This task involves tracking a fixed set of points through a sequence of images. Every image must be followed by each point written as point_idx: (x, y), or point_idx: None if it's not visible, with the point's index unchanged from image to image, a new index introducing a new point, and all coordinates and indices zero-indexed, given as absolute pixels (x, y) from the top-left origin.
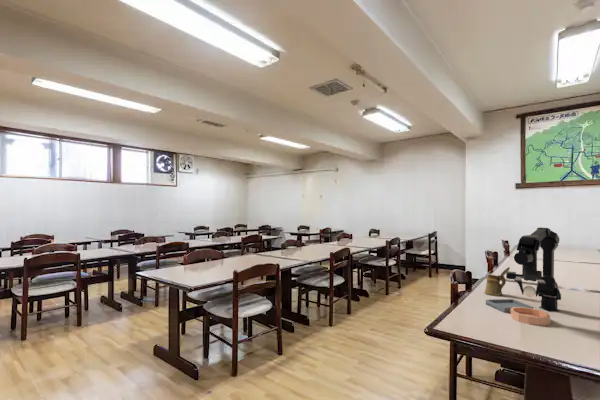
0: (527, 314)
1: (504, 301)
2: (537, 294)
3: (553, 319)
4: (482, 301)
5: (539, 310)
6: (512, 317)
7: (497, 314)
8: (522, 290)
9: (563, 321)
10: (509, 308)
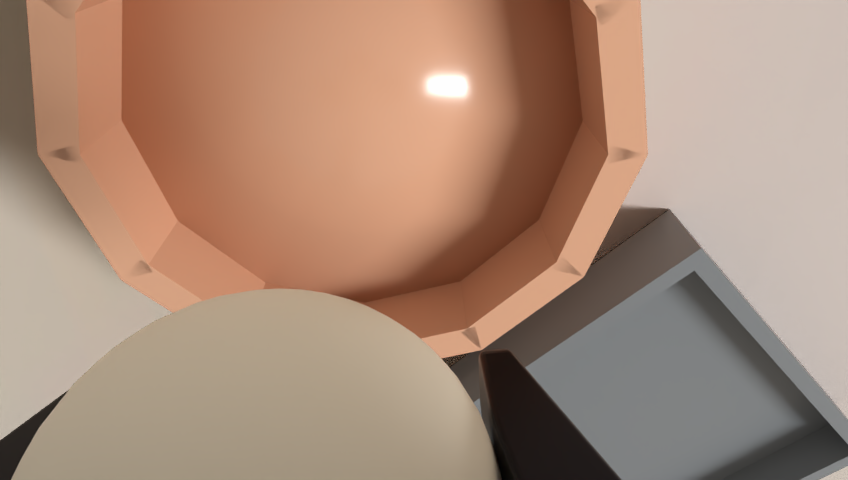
0: (395, 245)
1: None
2: (18, 432)
3: (129, 308)
4: (842, 472)
5: None
6: None
7: (790, 52)
8: (540, 459)
9: (25, 302)
10: (623, 289)
